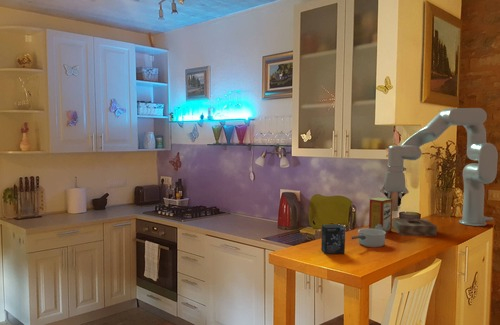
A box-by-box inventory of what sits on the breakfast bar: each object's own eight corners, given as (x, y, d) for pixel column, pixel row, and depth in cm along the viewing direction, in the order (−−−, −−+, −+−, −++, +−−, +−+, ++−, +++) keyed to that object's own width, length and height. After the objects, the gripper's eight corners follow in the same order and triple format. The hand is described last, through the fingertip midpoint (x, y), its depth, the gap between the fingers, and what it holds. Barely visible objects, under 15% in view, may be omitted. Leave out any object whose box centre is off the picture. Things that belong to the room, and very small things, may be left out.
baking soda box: (378, 228, 205) (379, 196, 203) (391, 231, 200) (392, 198, 199) (368, 231, 198) (369, 198, 197) (381, 234, 193) (382, 200, 192)
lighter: (374, 235, 191) (375, 218, 191) (376, 234, 192) (377, 217, 192) (388, 238, 186) (389, 220, 185) (390, 237, 187) (391, 220, 187)
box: (325, 254, 160) (326, 227, 160) (321, 250, 166) (321, 224, 165) (345, 254, 162) (345, 227, 161) (340, 250, 167) (340, 223, 166)
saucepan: (340, 248, 170) (340, 234, 170) (366, 239, 184) (367, 227, 183) (364, 254, 162) (365, 240, 162) (391, 245, 175) (391, 232, 175)
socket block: (425, 228, 207) (425, 219, 206) (436, 236, 191) (437, 226, 190) (392, 227, 208) (392, 218, 208) (400, 235, 192) (401, 225, 192)
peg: (396, 209, 215) (397, 186, 214) (398, 211, 211) (399, 187, 210) (388, 209, 215) (389, 186, 215) (390, 210, 212) (391, 187, 211)
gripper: (410, 169, 215) (408, 204, 216) (376, 168, 216) (375, 203, 218) (414, 170, 207) (412, 207, 209) (380, 170, 209) (378, 206, 210)
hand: (393, 205), depth 213 cm, fingers closed on peg, 4 cm apart
